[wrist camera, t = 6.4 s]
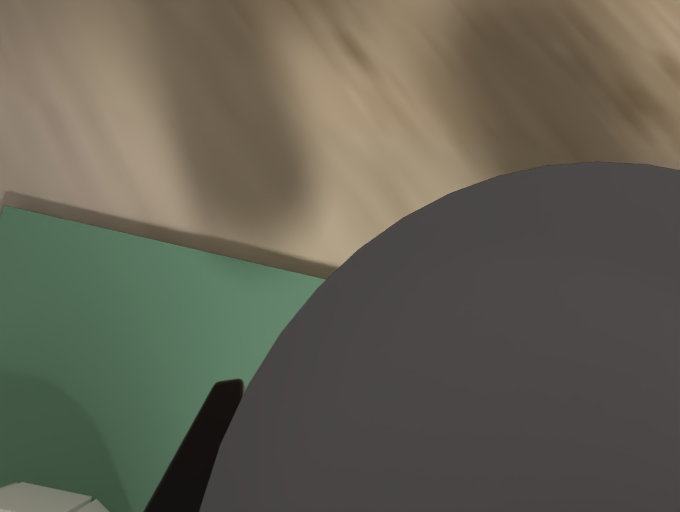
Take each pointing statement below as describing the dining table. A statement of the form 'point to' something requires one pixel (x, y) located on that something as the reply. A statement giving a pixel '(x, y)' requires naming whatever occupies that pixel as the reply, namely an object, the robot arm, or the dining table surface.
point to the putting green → (117, 355)
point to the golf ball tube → (480, 360)
